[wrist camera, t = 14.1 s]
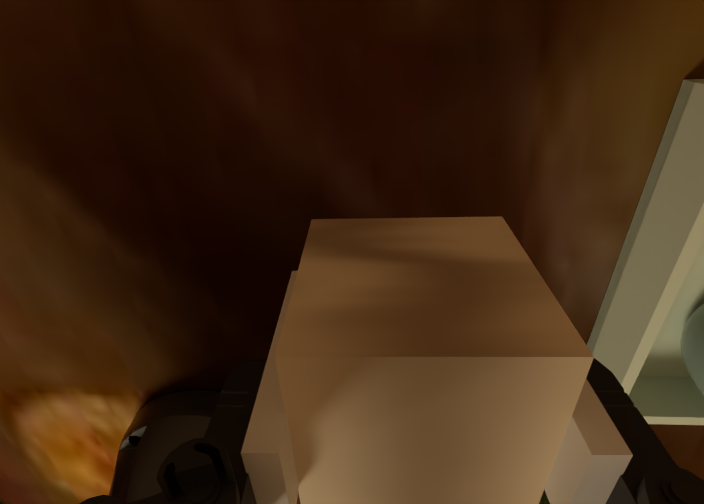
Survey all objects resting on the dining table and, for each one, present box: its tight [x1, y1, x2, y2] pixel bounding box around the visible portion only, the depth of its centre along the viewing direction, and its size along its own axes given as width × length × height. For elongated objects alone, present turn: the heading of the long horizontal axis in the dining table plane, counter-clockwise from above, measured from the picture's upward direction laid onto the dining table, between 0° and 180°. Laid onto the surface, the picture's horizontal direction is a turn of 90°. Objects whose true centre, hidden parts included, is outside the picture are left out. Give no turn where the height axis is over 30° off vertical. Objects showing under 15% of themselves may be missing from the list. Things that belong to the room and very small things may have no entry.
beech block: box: [275, 217, 594, 504], centre depth 12 cm, size 6×6×6 cm
